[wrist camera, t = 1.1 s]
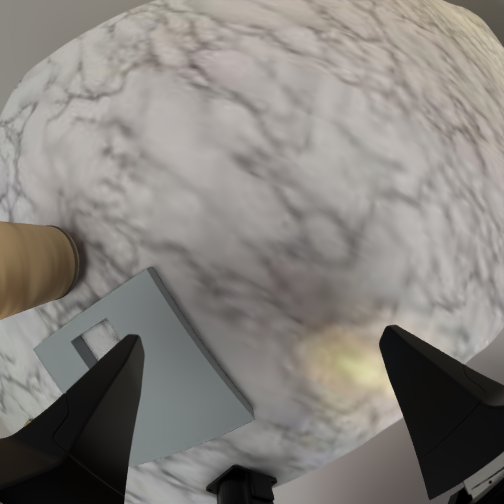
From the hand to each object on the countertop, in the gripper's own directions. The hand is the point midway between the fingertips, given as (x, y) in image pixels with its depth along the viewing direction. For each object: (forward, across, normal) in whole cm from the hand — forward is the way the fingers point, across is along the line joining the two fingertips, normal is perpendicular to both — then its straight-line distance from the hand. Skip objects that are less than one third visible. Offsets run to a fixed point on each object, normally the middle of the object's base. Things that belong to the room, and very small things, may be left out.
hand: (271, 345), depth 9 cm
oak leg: (+14, +17, +4) cm, 22 cm away
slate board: (+9, +10, +15) cm, 20 cm away
